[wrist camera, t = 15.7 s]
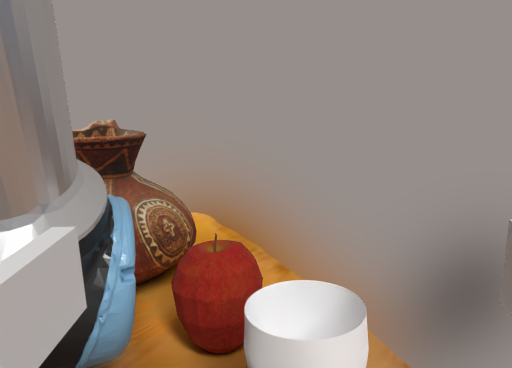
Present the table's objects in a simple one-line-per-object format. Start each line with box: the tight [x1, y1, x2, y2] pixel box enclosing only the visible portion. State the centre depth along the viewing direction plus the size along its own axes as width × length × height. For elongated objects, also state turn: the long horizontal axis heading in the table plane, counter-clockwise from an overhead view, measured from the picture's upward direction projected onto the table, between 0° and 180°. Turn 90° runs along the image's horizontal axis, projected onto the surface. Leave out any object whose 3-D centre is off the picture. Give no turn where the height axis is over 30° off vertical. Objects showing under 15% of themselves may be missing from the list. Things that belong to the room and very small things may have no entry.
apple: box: [171, 235, 263, 354], centre depth 50 cm, size 10×10×14 cm
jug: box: [72, 120, 196, 285], centre depth 71 cm, size 30×30×25 cm
